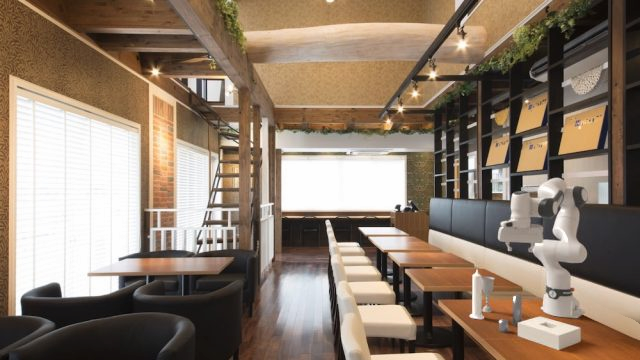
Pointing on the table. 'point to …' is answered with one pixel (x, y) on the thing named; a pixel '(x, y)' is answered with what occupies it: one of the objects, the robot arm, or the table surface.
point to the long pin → (517, 309)
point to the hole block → (549, 332)
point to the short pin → (503, 325)
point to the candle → (477, 296)
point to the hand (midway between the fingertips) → (520, 251)
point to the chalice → (487, 290)
